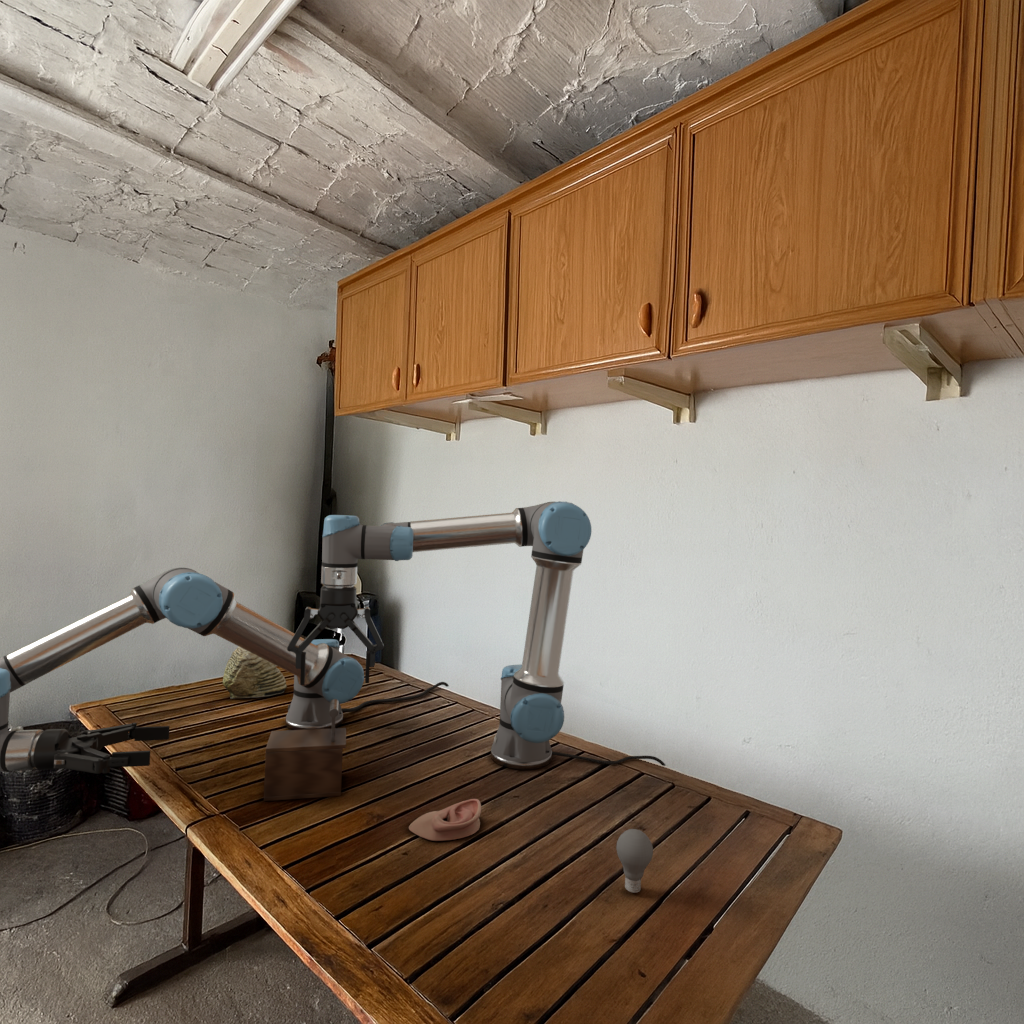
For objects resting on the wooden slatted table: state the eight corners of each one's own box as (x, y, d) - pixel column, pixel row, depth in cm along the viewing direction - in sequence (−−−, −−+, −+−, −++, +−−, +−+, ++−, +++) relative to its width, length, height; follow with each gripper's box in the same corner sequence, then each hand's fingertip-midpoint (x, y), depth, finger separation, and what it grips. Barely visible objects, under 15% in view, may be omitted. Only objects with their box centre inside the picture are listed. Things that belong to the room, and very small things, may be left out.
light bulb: (610, 879, 108) (613, 822, 108) (644, 879, 109) (647, 822, 109) (619, 902, 102) (622, 840, 102) (655, 901, 103) (658, 840, 103)
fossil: (218, 695, 195) (220, 647, 195) (278, 685, 208) (279, 640, 207) (228, 703, 189) (230, 653, 188) (289, 692, 201) (290, 645, 201)
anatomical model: (403, 815, 119) (423, 788, 130) (402, 836, 119) (423, 807, 131) (471, 825, 117) (486, 797, 128) (470, 847, 117) (485, 817, 128)
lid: (345, 731, 144) (347, 696, 144) (345, 748, 135) (347, 710, 134) (271, 734, 140) (272, 698, 140) (265, 752, 131) (267, 713, 130)
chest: (341, 775, 144) (343, 731, 144) (340, 795, 135) (342, 748, 134) (269, 780, 140) (271, 734, 140) (263, 801, 131) (265, 752, 131)
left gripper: (67, 744, 137) (175, 740, 142) (6, 797, 113) (139, 790, 118) (68, 710, 137) (176, 707, 142) (8, 756, 113) (141, 750, 118)
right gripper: (276, 587, 131) (272, 689, 132) (398, 588, 138) (394, 685, 138) (280, 582, 139) (276, 679, 139) (395, 583, 145) (391, 676, 145)
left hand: (159, 744), depth 130 cm, fingers open, 13 cm apart
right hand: (335, 682), depth 139 cm, fingers open, 13 cm apart
